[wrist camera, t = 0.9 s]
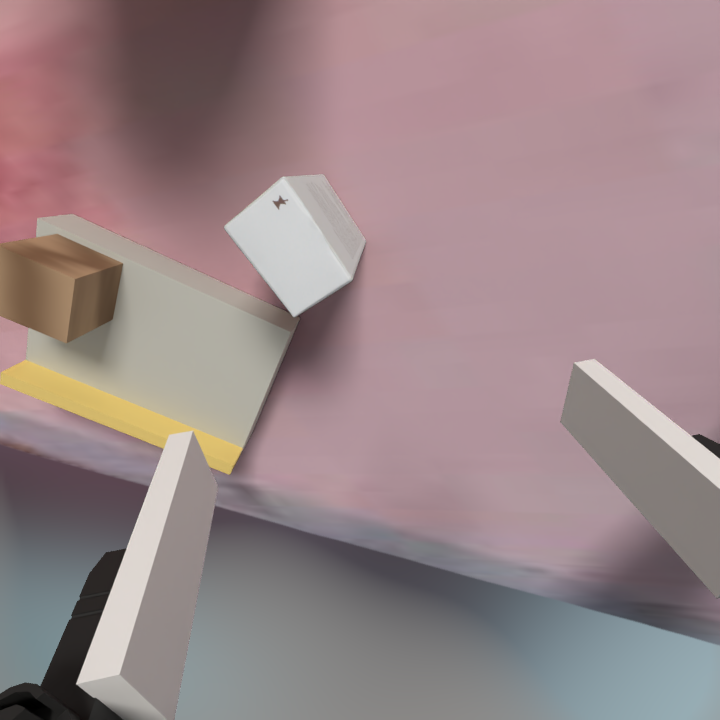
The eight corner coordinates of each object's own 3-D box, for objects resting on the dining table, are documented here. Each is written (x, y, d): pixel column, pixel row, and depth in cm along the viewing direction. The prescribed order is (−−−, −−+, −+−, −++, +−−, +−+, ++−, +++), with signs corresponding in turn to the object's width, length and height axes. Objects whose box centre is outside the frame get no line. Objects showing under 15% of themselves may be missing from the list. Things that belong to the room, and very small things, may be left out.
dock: (300, 317, 34) (283, 344, 29) (251, 435, 40) (229, 474, 35) (72, 214, 32) (8, 221, 27) (55, 354, 38) (0, 384, 32)
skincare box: (279, 207, 31) (218, 224, 20) (323, 172, 29) (283, 171, 18) (325, 272, 32) (292, 321, 22) (369, 243, 31) (356, 279, 20)
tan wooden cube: (123, 263, 30) (75, 279, 25) (112, 319, 32) (66, 343, 27) (57, 233, 29) (-4, 244, 25) (51, 293, 31) (-7, 312, 27)
